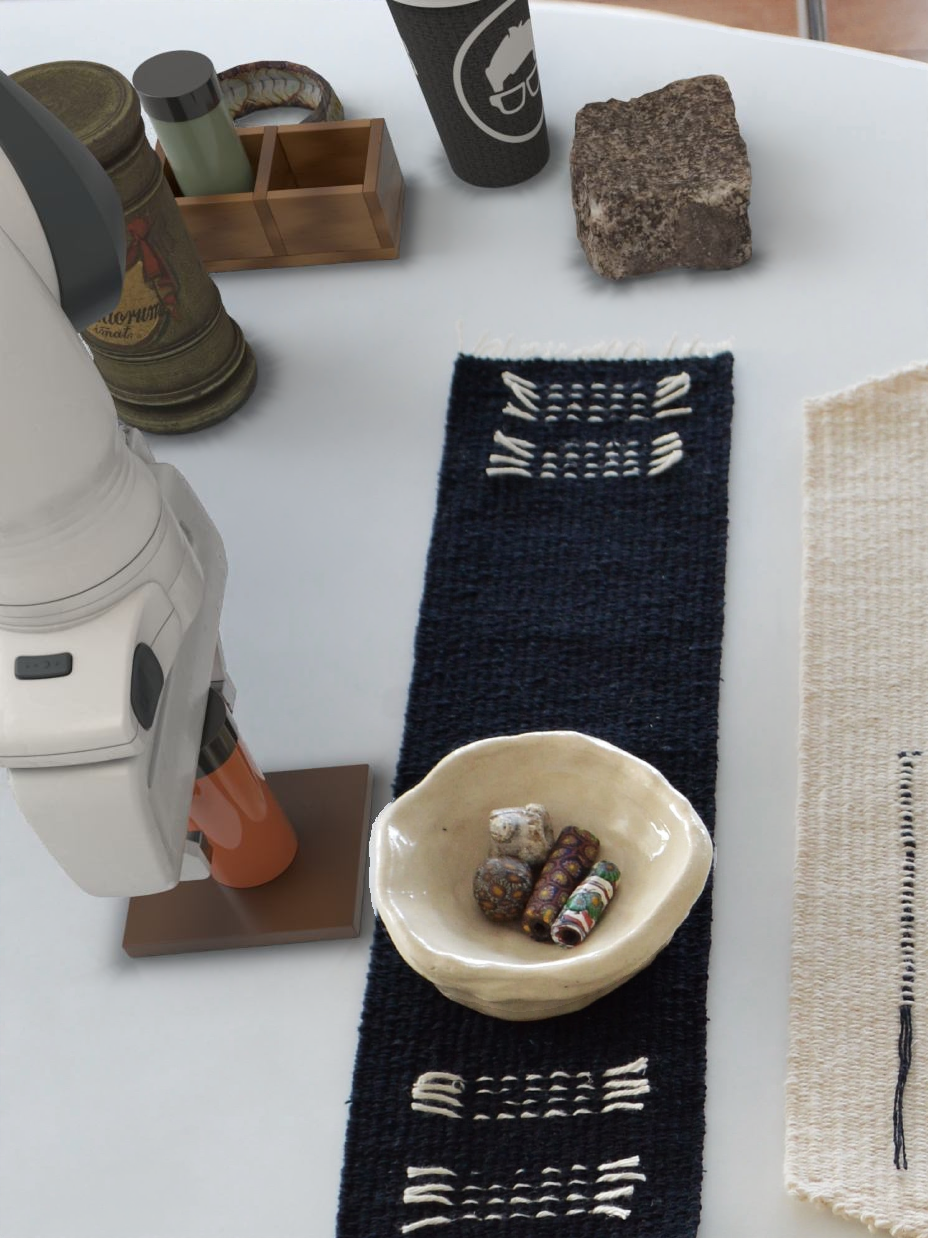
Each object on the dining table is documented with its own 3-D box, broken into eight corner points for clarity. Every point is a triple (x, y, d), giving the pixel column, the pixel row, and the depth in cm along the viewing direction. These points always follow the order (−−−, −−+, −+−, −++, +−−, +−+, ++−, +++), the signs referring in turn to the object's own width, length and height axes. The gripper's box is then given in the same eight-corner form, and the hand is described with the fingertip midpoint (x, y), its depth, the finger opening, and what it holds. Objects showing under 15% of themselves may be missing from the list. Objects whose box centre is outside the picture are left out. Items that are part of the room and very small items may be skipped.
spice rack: (172, 275, 116) (141, 208, 112) (187, 201, 120) (157, 133, 116) (398, 258, 117) (375, 191, 112) (406, 185, 120) (384, 117, 116)
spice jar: (197, 894, 90) (111, 766, 82) (209, 817, 93) (126, 684, 84) (295, 885, 91) (219, 757, 82) (304, 808, 93) (231, 676, 84)
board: (129, 957, 90) (120, 946, 89) (157, 793, 95) (149, 781, 94) (359, 937, 90) (352, 926, 89) (374, 775, 95) (368, 763, 94)
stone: (756, 182, 111) (764, 270, 116) (726, 61, 118) (734, 149, 123) (570, 201, 110) (585, 289, 115) (551, 77, 117) (566, 165, 122)
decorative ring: (361, 174, 121) (341, 87, 126) (345, 128, 118) (325, 41, 123) (203, 206, 120) (189, 116, 124) (183, 160, 117) (170, 70, 122)
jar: (192, 249, 116) (126, 100, 108) (201, 201, 118) (137, 52, 110) (268, 243, 116) (208, 94, 108) (275, 196, 119) (217, 47, 110)
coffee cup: (557, 100, 125) (504, -131, 112) (586, 184, 120) (535, -47, 107) (416, 129, 123) (345, -102, 111) (440, 216, 119) (369, -15, 106)
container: (130, 333, 113) (-10, 52, 98) (276, 335, 113) (158, 53, 98) (88, 436, 109) (-66, 158, 93) (240, 438, 108) (111, 160, 93)
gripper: (43, 405, 80) (168, 625, 92) (-47, 778, 70) (107, 972, 82) (190, 394, 81) (296, 615, 93) (123, 764, 70) (252, 959, 82)
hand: (207, 785), depth 87 cm, fingers open, 8 cm apart
